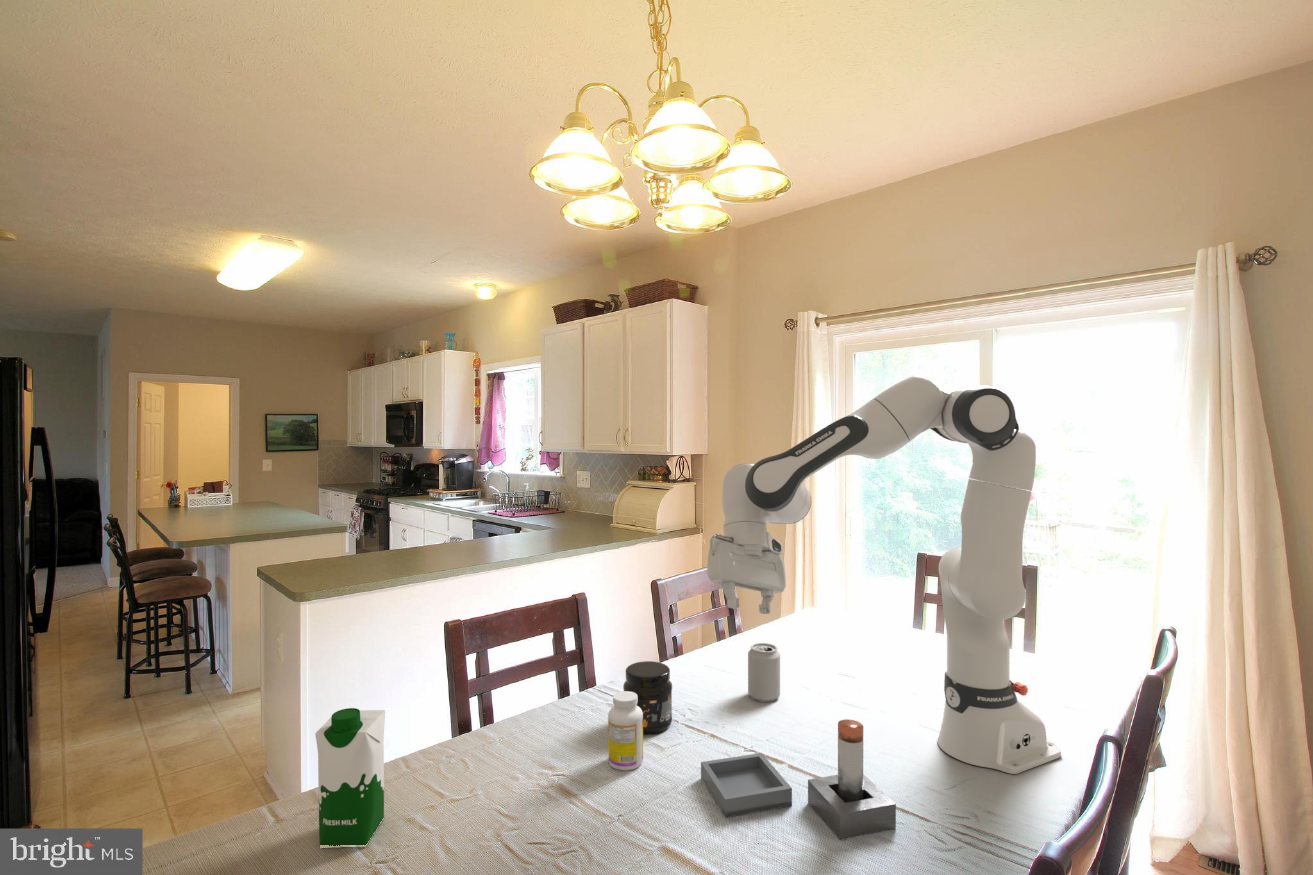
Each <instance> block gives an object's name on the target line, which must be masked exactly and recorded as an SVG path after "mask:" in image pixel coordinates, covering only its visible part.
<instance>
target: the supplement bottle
mask: <svg viewBox="0 0 1313 875" xmlns="http://www.w3.org/2000/svg"><path fill="white" fill-rule="evenodd" d="M637 702H638V696H637V694H636V693H634V692H630V691H624V690H623V691H617V692H616V693H614V694H613V697H612V704H613V707H611V708H610V710H608V714H607V723H608V724H607V725H608V727H607V728H608V731H607V732H608V733H607V734H608V735H607V737H608V741H607V742H608V746H607V747H608V763H609V765H610V766H611V767H612V768H613V769H616V770H619V771H632V770H635V769H637V768H639V767H641V765H642V763H643V762H644V734H643V712H642V710H641V709H640V707H638V706H637Z"/></svg>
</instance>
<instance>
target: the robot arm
mask: <svg viewBox="0 0 1313 875" xmlns="http://www.w3.org/2000/svg"><path fill="white" fill-rule="evenodd" d="M1019 427H1020V426H1019V423H1018V421H1017V418H1016V410H1015V407H1014V402H1013V401H1012V400H1011V398H1010V397H1009V396H1008V394H1007V393H1005V392H1004V391H1003V390H1001V389H999V388H997V387H993V386H990V385H971V386H968V385H967V386H963V387H960V388H957V389H953V390H943V389H941V387H940V386H939V385H938V384H937V383H936V382H935V381H934V380H932V378H930V377H927V376H924V375H921V374H920V375H919V374H915V375H912V376H910V377H907V378H905V379H904V380H901V381H899V382H897V383H896V384H894V385H892V386H890V387H889V388H887V389H885V390H884V391H882V392H881V393H879V394H878V395H876V396H875V397H874V398H872V399H870V400H869V401H868V402H867V403H865V404H864V405H862V406H860V408H857V409H856V410H855V411H853V412H851V413H850V414H848V415H846V416H844V417H842V418H838V419H837V420H835V421H834V422H831V423H830V424H828V425H826V426H825V427H823V428H822V429H820V430H818V431H817V432H814V433H813V434H812V435H810V436H809V437H807V438H806V439H804V440H802V441H801V442H799V443H798V444H797V443H796V445H794V446H792V447H791V448H789V449H787V450H786V451H784V452H781V453H779V454H775V455H771V456H768V457H765V458H763V459H759V460H758V461H757V462H755V463H741V464H737V465H734V466H732V467H731V468H730V469H728V470H727V471H726V473H725V475H724V477H723V480H722V496H721V498H722V499H721V501H722V502H721V503H722V506H721V508H722V511H723V515H724V521H723V522H724V523H723V527H722V528H723V534H720V533H715V534H714V535H712V536H711V537H710V540H709V549H708V554H707V569H706V571H707V572H706V574H707V577H708V579H709V581H710V582H713V583H718V584H721V590H722V591H723V594H724V596H725V598H726V602H727V603H726V606H727V608H729V609H738V608H739V607H740V598H739V597H737V596H736V592H735V590H734V589H735V588H742V589H747V590H750V591H751V590H752V591H754V592H755V591H756V592H760V597H762V601H761V604H758V612H759V614H762V615H769V614H771V612H772V610H771V604H772V602H773V599H774V597H775V596H774V595H775V594H780V593H783V592H784V591H785V589H786V586H787V580H786V578H787V577H786V568H785V567H786V566H785V562H784V558H783V557H782V555H783V554H784V545H783V544H782V543H781V542H780V541H778V539H776V538H775V537H774V536H773V535H772V534H771V533H770V532H768V530H767V524H768V523H770V524H781V525H782V524H783V525H785V524H786V525H787V524H789V525H790V524H791V525H792V524H796V523H798V522H800V521H802V520H803V519H804V518H805V517H806V516H807V515H808V514H809V511H810V509H811V506H812V496H811V493H810V491H809V490H808V488H807V487H806V485H805V483H804V482H805V481H806V480H807V479H808V478H809V477H811V476H812V475H814V474H816V473H817V472H819V471H820V470H822V469H823V468H825V467H826V466H828V465H830V464H832V463H833V462H835V461H836V460H838V459H840V458H842V457H845V456H860V457H863V458H867V459H871V460H872V459H873V460H878V459H879V460H880V459H883V458H885V457H888V456H889V455H891V454H893V453H895V452H897V451H898V450H900V449H902V448H903V447H905V445H907V444H909V443H910V442H911V441H912V440H914V439H915V438H917V437H918V436H919V435H920V434H923V433H924V432H926V431H927V430H931V431H933V432H934V433H936V434H937V435H939V436H940V437H942V438H943V439H946V440H948V441H951V442H958V443H962V444H968V446H969V448H970V449H971V453H972V455H971V456H972V465H971V468H970V473H969V476H968V480H967V485H966V490H965V494H964V499H963V504H962V509H961V512H960V523H961V546H959V547H953V548H951V549H948V551H946V552H945V553H944V554H943V555H942V557H941V558H940V560H939V562H938V574H939V581H940V589H941V590H940V591H941V599H942V601H941V602H942V607H943V608H942V609H943V615H944V622H945V629H946V631H945V633H946V671H945V673H944V679H943V682H944V683H943V691H944V698H945V704H944V708H943V717H942V721H941V726H940V730H939V734H938V737H937V745H938V746H939V748H940V749H941V750H942V751H943V752H944V753H946V754H948V755H949V756H951V757H952V758H954V759H956V760H959V761H961V762H964V763H967V764H970V765H974V766H977V767H982V768H987V769H995V770H998V771H1001V772H1004V773H1007V774H1011V775H1012V774H1013V775H1017V774H1020V773H1023V772H1025V771H1028V770H1030V769H1032V768H1035V767H1038V766H1041V765H1043V764H1046V763H1048V762H1052V761H1054V760H1056V759H1059V758H1062V752H1061V749H1060V748H1059V747H1058V746H1057V745H1056V744H1055V743H1053V742H1052V741H1051V740H1050V739H1048V738H1047V731H1046V727H1045V723H1044V721H1043V720H1042V718H1040V716H1039V715H1038V714H1036V713H1035V712H1034V711H1032V710H1031V709H1030V708H1028V707H1027V706H1026V705H1025V704H1024V703H1022V702H1021V701H1020V700H1019V699H1018V697H1017V695H1016V693H1018V694H1019V695H1021V696H1026V695H1027V694H1028V693H1029V688H1028V686H1027V685H1025V684H1022V683H1021V682H1019V681H1017V682H1013V681H1012V680H1011V679H1010V647H1011V646H1010V640H1009V637H1008V634H1007V630H1006V626H1005V622H1004V621H1005V620H1009V619H1011V618H1013V617H1015V616H1017V615H1018V614H1019V613H1020V612H1021V611H1022V609H1023V607H1024V606H1025V602H1026V598H1027V597H1026V596H1027V595H1026V588H1025V586H1024V585H1025V584H1024V581H1023V580H1024V579H1023V538H1024V531H1025V530H1024V529H1025V523H1026V520H1027V519H1026V518H1027V514H1028V509H1029V505H1030V500H1031V496H1032V491H1033V487H1034V480H1035V475H1036V474H1035V473H1036V465H1037V464H1036V462H1037V460H1036V459H1037V454H1036V453H1037V451H1036V448H1037V447H1036V444H1035V441H1034V440H1033V439H1032V437H1031V436H1030V435H1028V434H1027V433H1025V432H1023V431H1020V428H1019Z"/></svg>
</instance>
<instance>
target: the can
mask: <svg viewBox="0 0 1313 875" xmlns="http://www.w3.org/2000/svg"><path fill="white" fill-rule="evenodd" d="M747 692H748V693H747V694H748V695H749V696H750V697H751V698H752V700H754V699H755V700H754V701H756V700H757V702H760V701H761V703H771V702H775V700H777V699H779V697H780V696H781V654H780V652H779V651H778V646H776V645H775V644H771V643H767V642H758V643H757V642H756V643H753V644H751V646H750V650H749V651H748V652H747Z"/></svg>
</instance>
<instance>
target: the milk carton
mask: <svg viewBox="0 0 1313 875" xmlns="http://www.w3.org/2000/svg"><path fill="white" fill-rule="evenodd" d="M385 719H386V709H371V710H370V709H367V710H366V709H361V710H360V709H358V708H356V707H348V708H343V709H339V710H337V711H335V712H334V713H332V714H331V717H330V718H329V719H328V720H327V721H326V722H325V723H324V724H322V726H321V727H320V728H319V729H318V730H317V731H316V732H315V734H314V735H315V740H316V748H317V759H318V761H317V763H318V764H317V767H318V768H317V770H318V771H317V773H318V778H317V780H318V782H317V783H318V834H319V839H318V840H319V846H320V845H329V846H330V845H331V846H332V845H333V846H336V845H337V846H338V845H339V846H340V845H366V844H367V843H368V841H369V840H370V838H371V837H372V835H373V833H374V832H375V831H376V829H377V827H378V826H379V824H380V822H381V821H382V819H383V818H384V819H385V756H384V755H385V748H384V747H385V746H384V735H385ZM382 822H383V821H382ZM380 825H381V824H380ZM379 827H380V826H379ZM377 830H378V829H377ZM376 832H377V831H376ZM376 832H375V833H376ZM373 836H374V835H373ZM372 838H373V837H372ZM372 838H371V839H372ZM370 841H371V840H370ZM368 844H369V843H368Z"/></svg>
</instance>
